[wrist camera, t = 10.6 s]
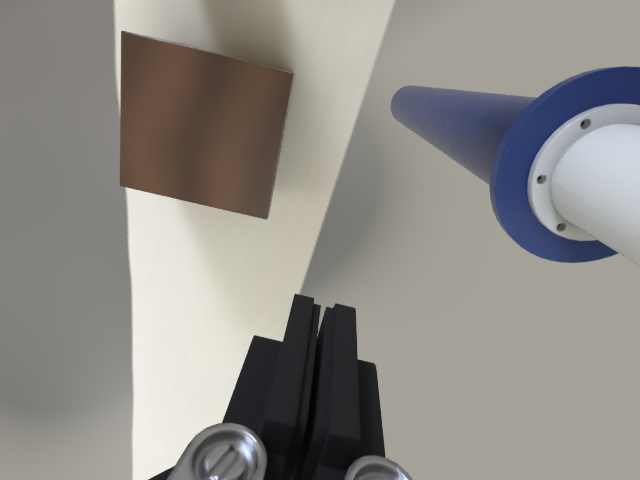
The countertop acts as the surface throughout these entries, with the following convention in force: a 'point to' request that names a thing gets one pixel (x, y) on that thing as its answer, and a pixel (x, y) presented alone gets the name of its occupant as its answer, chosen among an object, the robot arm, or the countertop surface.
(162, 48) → the hatch
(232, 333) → the countertop surface
